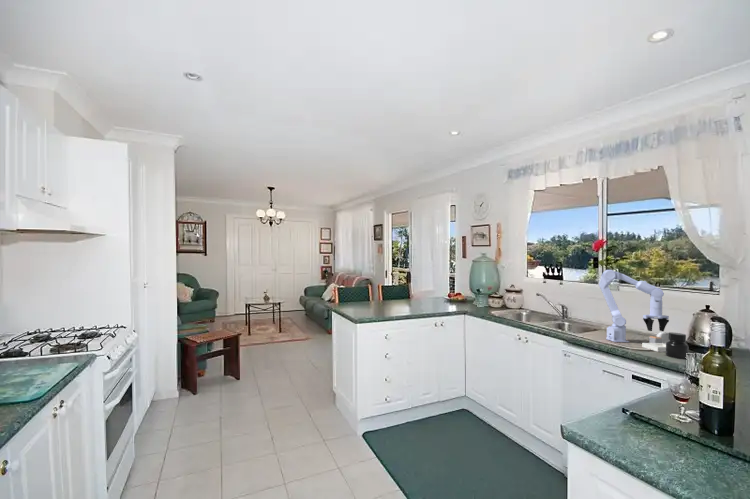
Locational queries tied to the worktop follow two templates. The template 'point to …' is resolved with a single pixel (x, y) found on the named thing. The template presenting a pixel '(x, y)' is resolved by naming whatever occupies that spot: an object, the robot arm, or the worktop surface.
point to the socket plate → (655, 346)
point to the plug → (655, 339)
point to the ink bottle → (677, 346)
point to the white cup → (663, 336)
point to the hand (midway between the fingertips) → (655, 330)
